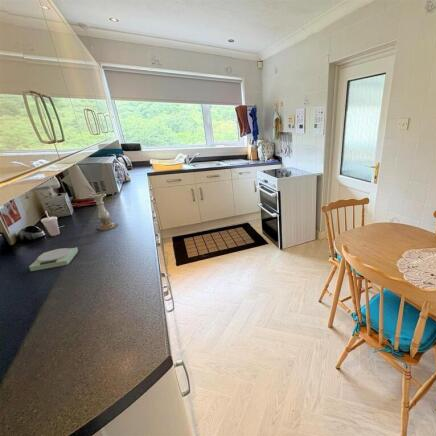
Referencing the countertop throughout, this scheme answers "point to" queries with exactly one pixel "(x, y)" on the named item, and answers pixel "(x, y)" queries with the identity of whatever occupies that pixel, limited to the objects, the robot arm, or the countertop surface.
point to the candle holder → (103, 212)
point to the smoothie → (51, 225)
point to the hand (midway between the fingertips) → (39, 196)
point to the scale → (54, 258)
